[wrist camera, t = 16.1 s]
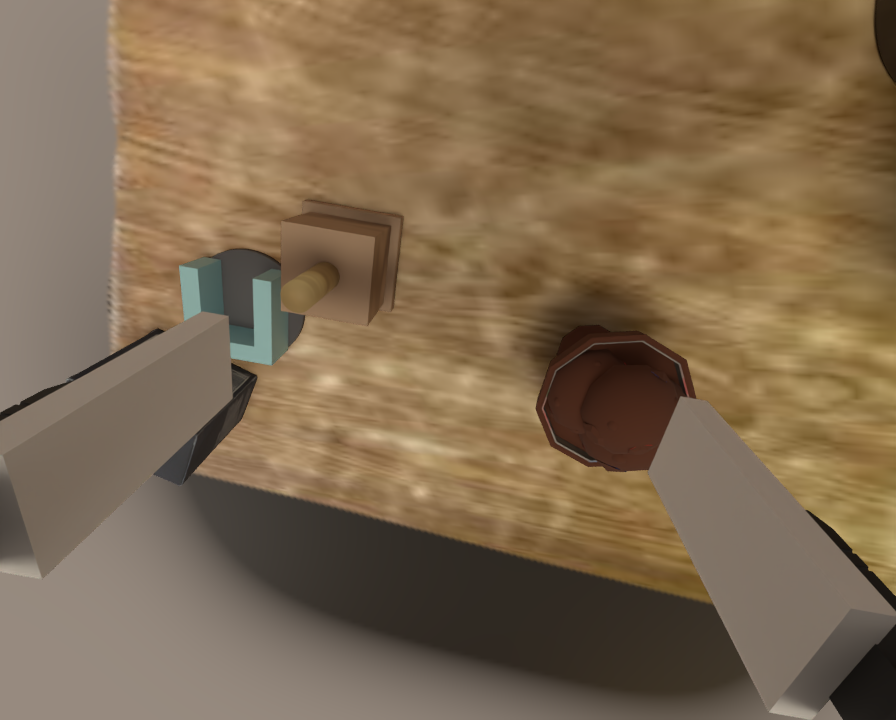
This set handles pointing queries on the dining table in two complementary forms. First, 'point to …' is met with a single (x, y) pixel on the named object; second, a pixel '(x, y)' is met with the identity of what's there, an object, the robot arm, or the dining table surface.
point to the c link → (269, 321)
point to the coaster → (248, 288)
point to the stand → (339, 262)
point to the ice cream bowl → (611, 397)
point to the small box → (210, 433)
